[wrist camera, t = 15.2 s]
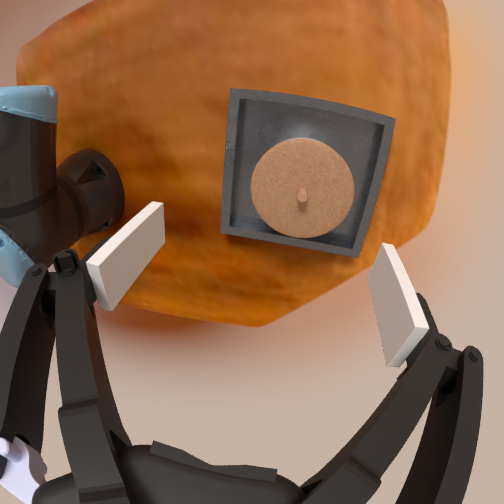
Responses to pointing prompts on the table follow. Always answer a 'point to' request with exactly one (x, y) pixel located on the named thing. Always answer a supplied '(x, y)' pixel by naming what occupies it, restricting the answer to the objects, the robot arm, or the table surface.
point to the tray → (307, 126)
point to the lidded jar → (302, 188)
